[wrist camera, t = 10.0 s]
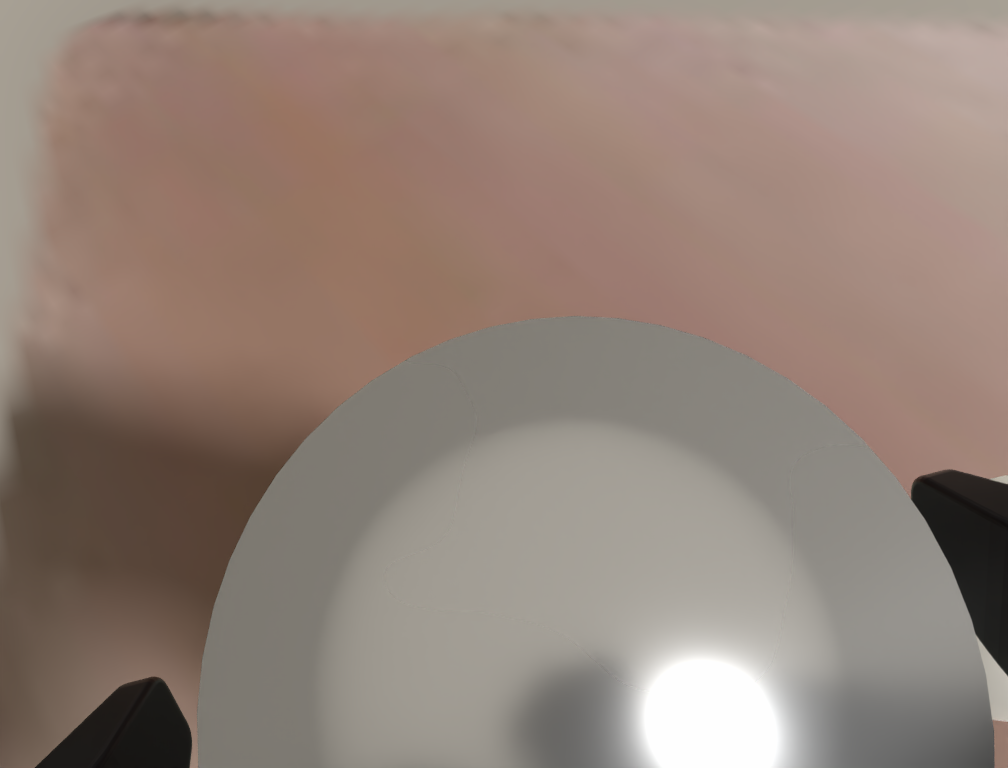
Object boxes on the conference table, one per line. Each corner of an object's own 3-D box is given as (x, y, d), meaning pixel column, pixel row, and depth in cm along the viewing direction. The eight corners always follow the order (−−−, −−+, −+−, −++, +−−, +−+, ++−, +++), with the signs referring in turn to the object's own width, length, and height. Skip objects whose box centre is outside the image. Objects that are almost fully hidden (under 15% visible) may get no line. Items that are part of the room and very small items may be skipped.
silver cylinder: (757, 732, 16) (1452, 932, 4) (507, 890, 15) (303, 1828, 3) (605, 488, 18) (716, 90, 6) (380, 616, 17) (-51, 474, 5)
